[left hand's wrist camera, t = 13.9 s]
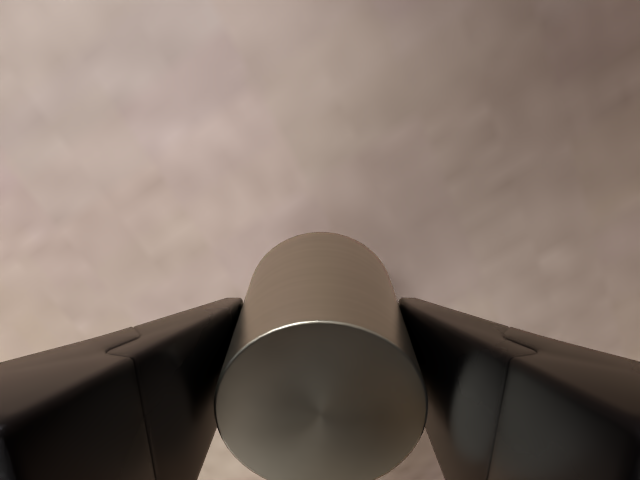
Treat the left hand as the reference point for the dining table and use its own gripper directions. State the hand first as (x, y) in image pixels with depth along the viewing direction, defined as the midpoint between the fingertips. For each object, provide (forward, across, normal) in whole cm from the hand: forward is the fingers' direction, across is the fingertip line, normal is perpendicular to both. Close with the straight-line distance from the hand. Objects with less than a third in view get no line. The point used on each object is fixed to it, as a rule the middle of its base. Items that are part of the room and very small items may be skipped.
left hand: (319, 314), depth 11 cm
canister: (+1, 0, 0) cm, 1 cm away
